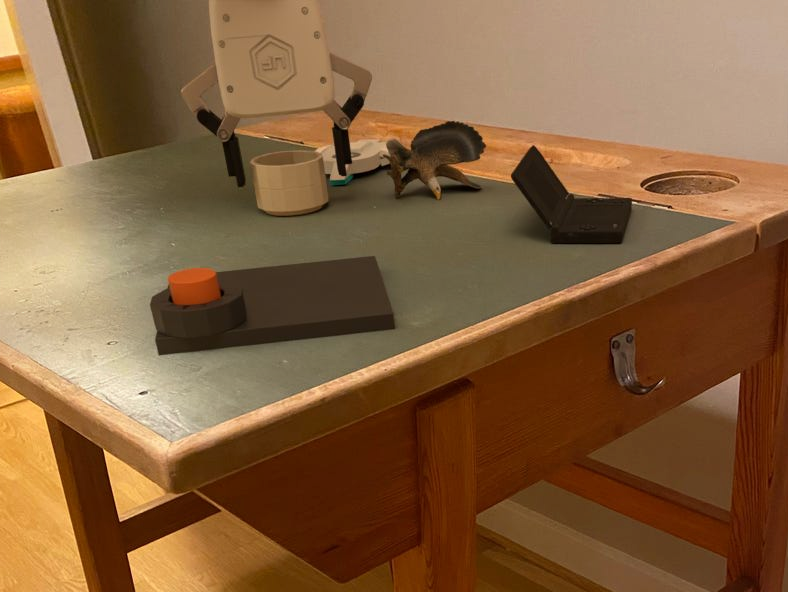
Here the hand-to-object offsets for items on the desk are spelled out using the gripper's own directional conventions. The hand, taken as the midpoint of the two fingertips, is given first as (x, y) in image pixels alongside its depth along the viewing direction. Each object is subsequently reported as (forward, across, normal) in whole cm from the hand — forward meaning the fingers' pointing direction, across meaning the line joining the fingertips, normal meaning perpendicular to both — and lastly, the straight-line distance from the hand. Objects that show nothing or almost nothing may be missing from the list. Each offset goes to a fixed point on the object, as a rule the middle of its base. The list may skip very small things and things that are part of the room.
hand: (292, 178), depth 97 cm
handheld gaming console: (+3, +24, -16) cm, 29 cm away
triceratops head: (+3, +14, 0) cm, 14 cm away
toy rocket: (+3, +7, +15) cm, 17 cm away
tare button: (0, -7, -35) cm, 35 cm away
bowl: (+3, 0, 0) cm, 3 cm away
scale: (+2, -2, -30) cm, 30 cm away
